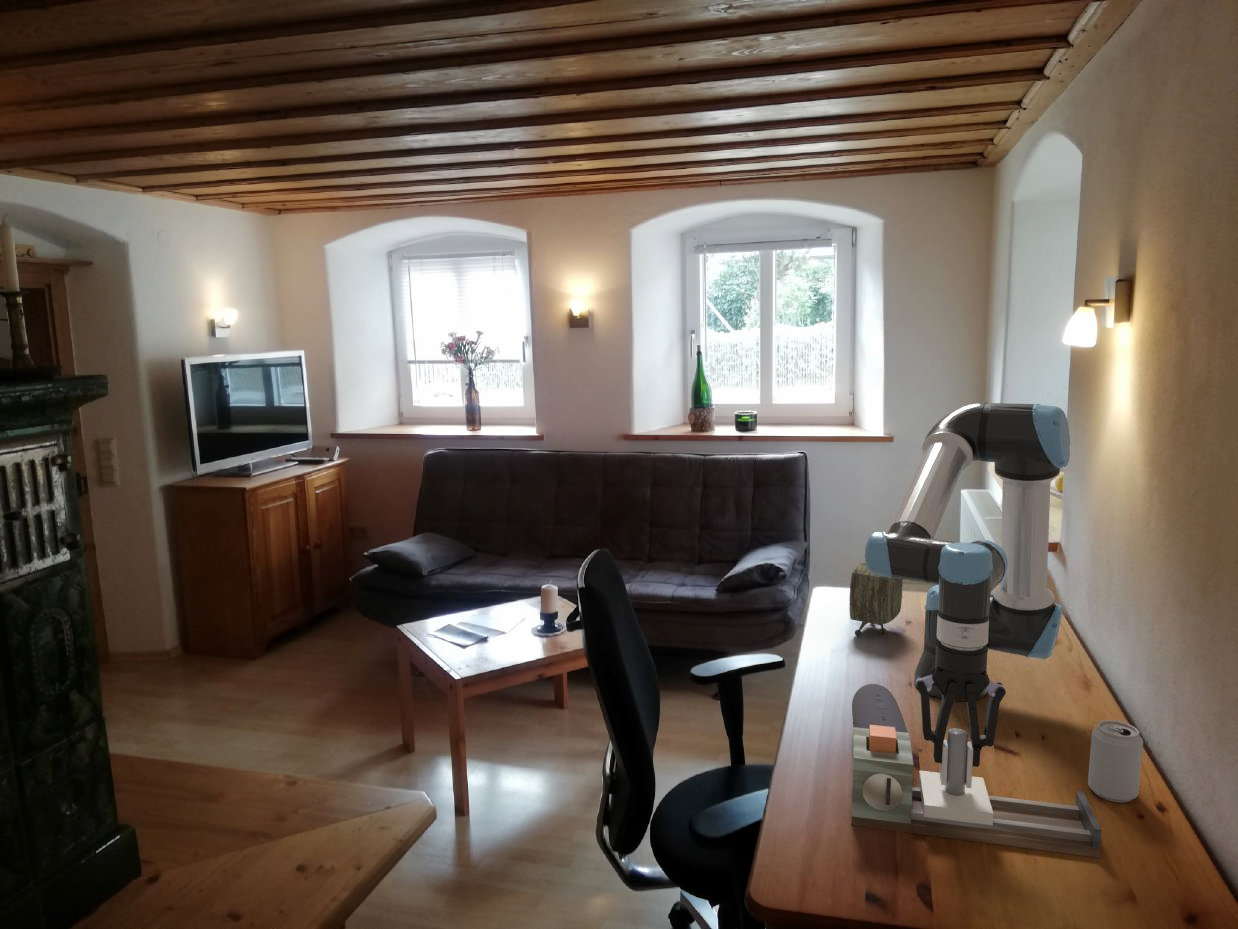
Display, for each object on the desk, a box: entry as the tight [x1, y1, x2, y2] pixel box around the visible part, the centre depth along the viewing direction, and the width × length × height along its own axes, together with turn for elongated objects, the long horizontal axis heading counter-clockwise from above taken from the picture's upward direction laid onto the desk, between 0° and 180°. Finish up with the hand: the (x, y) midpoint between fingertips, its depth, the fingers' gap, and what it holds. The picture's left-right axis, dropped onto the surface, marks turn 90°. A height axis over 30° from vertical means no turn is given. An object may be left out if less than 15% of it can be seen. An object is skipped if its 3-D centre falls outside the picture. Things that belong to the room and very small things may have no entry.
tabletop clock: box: [849, 561, 904, 637], centre depth 225 cm, size 14×9×25 cm, turn 144°
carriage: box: [918, 727, 993, 825], centre depth 140 cm, size 11×10×12 cm
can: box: [1087, 719, 1144, 803], centre depth 148 cm, size 8×8×12 cm
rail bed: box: [850, 727, 1103, 858], centre depth 139 cm, size 12×36×12 cm, turn 75°
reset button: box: [869, 725, 896, 754], centre depth 142 cm, size 4×4×3 cm
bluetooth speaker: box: [851, 683, 908, 733], centre depth 161 cm, size 23×9×10 cm, turn 170°
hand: (955, 782), depth 140 cm, fingers closed on carriage, 3 cm apart
